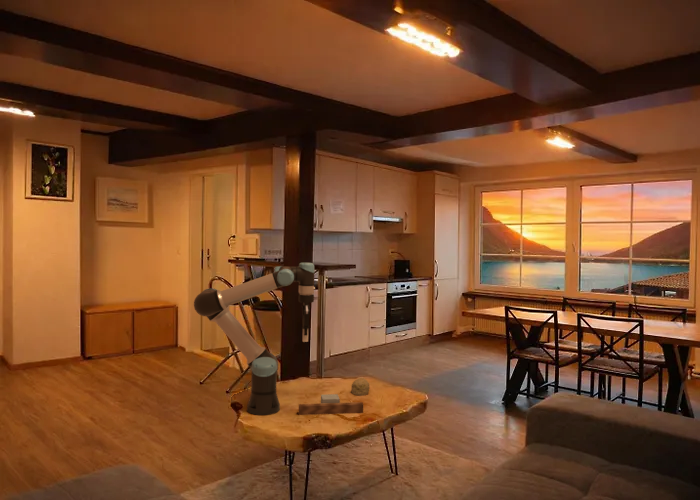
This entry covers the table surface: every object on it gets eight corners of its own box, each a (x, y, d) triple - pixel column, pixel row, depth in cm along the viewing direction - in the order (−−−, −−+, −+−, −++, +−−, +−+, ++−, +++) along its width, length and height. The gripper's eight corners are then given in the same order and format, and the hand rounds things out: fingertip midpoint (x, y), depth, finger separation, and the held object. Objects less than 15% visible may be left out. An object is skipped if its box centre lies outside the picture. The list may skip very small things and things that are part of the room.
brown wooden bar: (298, 414, 245) (299, 405, 244) (298, 412, 248) (298, 403, 247) (363, 412, 250) (363, 403, 249) (361, 410, 253) (362, 401, 252)
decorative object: (356, 403, 273) (367, 389, 270) (344, 389, 278) (354, 375, 275) (366, 400, 281) (376, 386, 278) (354, 386, 286) (363, 372, 283)
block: (322, 412, 250) (322, 399, 249) (320, 407, 256) (321, 394, 256) (339, 411, 251) (339, 398, 251) (337, 406, 258) (337, 394, 258)
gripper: (315, 295, 257) (314, 344, 258) (312, 292, 270) (311, 338, 271) (299, 295, 256) (298, 344, 257) (297, 292, 269) (296, 338, 270)
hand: (305, 341), depth 264 cm, fingers closed
